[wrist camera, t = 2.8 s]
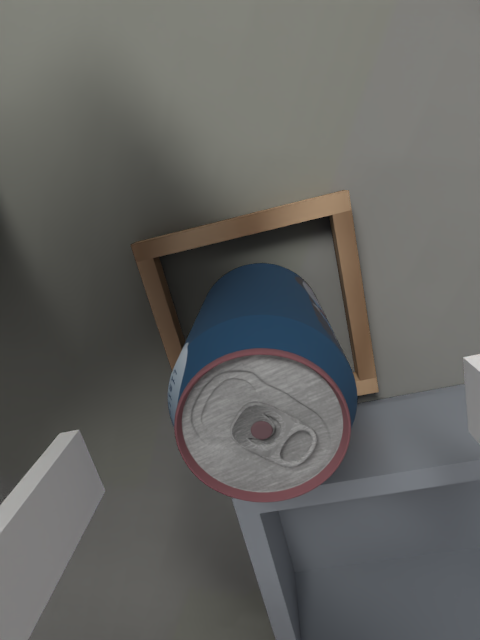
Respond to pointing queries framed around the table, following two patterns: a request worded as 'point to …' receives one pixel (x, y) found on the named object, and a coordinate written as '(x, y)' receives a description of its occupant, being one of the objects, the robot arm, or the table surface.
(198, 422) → the soda can
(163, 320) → the walnut rim
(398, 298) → the table surface
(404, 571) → the slate gray bin
